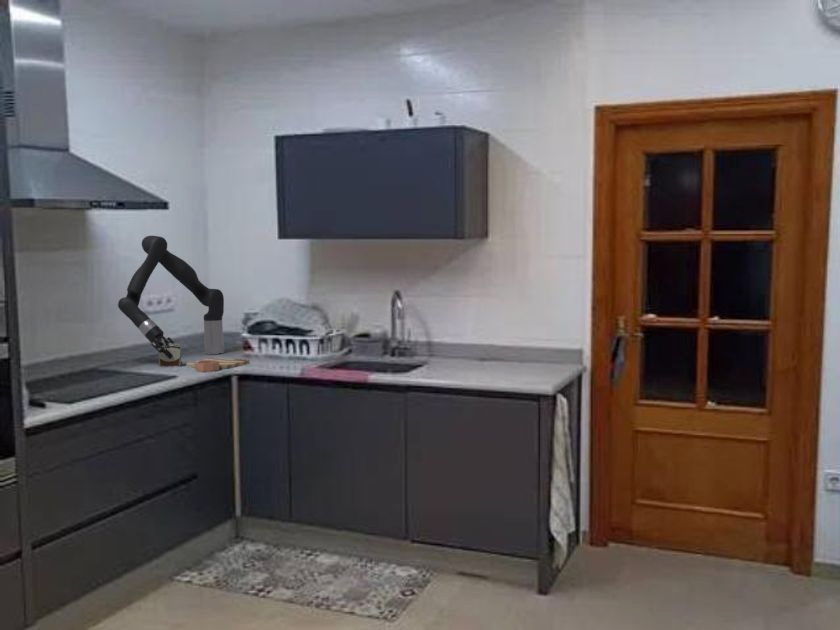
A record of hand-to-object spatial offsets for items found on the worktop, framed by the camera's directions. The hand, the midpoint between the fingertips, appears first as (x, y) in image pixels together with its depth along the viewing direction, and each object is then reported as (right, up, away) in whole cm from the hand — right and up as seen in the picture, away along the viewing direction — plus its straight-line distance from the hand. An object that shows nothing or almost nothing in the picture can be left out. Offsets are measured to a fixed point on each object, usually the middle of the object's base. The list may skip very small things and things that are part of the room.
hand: (175, 356), depth 381 cm
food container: (-2, -5, +1) cm, 5 cm away
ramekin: (+19, -6, -15) cm, 25 cm away
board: (+20, -4, +1) cm, 20 cm away
